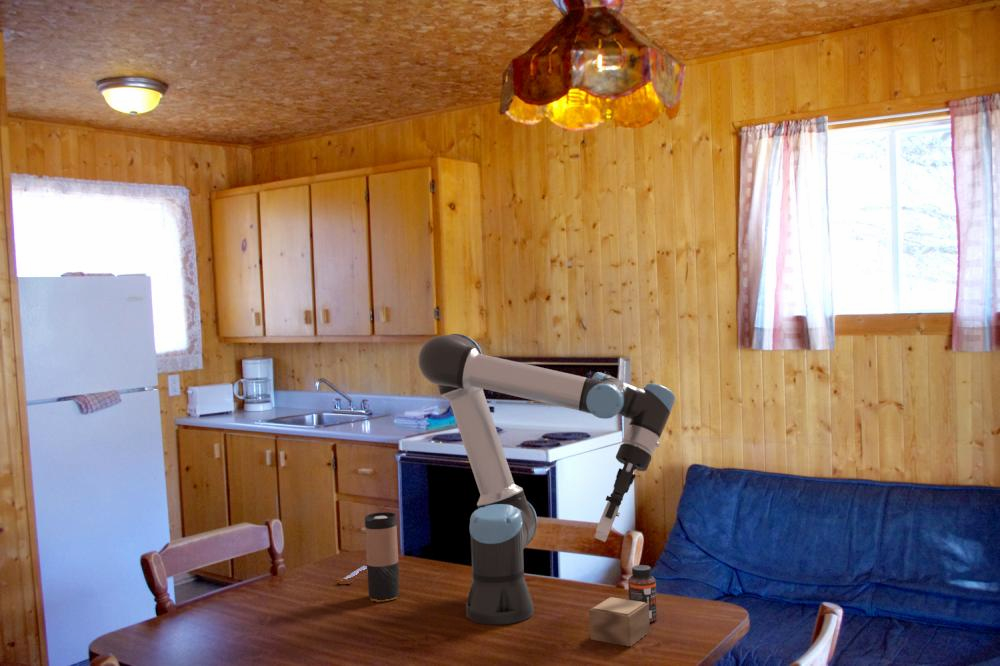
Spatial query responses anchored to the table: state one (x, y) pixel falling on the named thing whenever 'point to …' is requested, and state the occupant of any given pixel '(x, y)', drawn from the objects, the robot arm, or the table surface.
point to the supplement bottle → (643, 588)
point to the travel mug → (382, 555)
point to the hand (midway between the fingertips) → (600, 536)
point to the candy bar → (355, 572)
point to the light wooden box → (619, 621)
